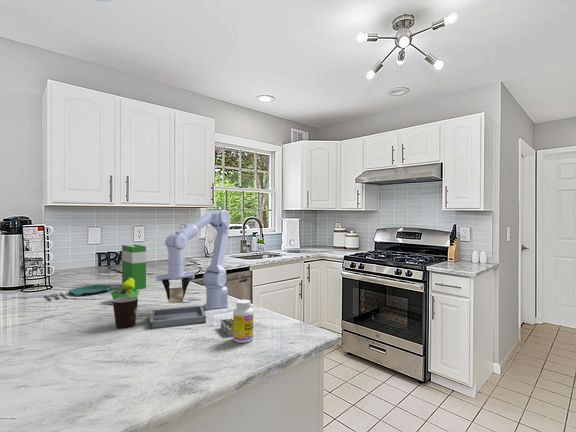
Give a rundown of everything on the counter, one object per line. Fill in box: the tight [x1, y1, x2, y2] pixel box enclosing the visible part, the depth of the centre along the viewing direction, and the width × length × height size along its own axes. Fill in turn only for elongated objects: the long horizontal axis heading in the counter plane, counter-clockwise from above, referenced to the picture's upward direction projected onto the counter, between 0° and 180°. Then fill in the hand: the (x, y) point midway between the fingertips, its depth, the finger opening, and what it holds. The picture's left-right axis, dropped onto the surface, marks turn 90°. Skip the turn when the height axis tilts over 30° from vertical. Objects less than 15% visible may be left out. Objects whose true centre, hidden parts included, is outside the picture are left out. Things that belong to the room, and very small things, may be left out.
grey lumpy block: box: [219, 318, 233, 337], centre depth 118 cm, size 11×8×4 cm
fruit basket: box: [110, 278, 140, 301], centre depth 158 cm, size 11×9×11 cm
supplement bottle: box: [232, 299, 254, 344], centre depth 109 cm, size 7×7×13 cm
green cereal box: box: [121, 244, 147, 291], centre depth 191 cm, size 18×7×24 cm, turn 43°
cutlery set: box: [43, 284, 112, 302], centre depth 175 cm, size 20×30×2 cm, turn 135°
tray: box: [149, 305, 207, 330], centre depth 131 cm, size 20×16×2 cm
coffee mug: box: [112, 297, 139, 330], centre depth 124 cm, size 12×9×10 cm
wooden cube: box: [167, 286, 184, 304], centre depth 132 cm, size 5×5×5 cm
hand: (175, 297), depth 131 cm, fingers closed on wooden cube, 5 cm apart
